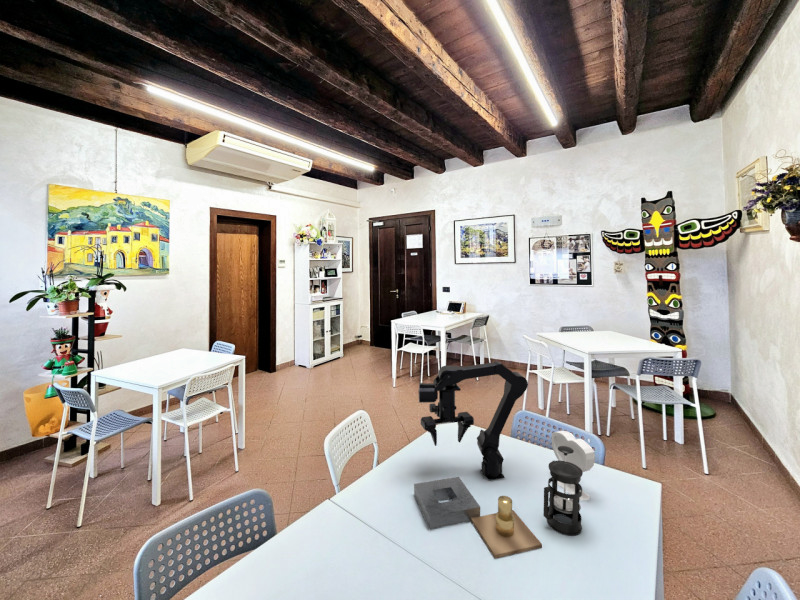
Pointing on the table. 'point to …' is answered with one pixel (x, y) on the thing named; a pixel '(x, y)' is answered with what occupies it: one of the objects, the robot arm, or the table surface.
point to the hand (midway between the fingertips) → (447, 443)
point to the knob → (505, 517)
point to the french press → (563, 495)
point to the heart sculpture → (573, 455)
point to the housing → (449, 511)
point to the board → (505, 545)
